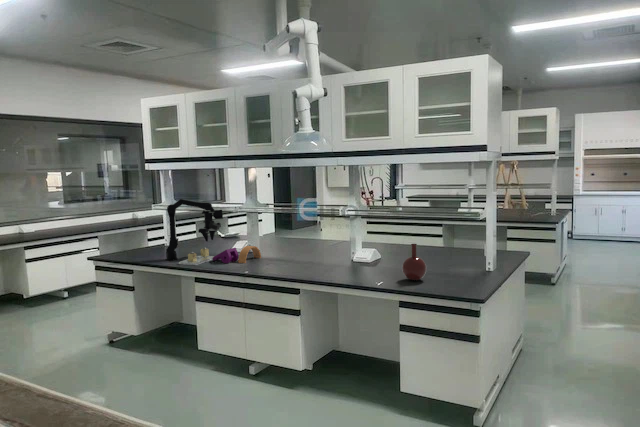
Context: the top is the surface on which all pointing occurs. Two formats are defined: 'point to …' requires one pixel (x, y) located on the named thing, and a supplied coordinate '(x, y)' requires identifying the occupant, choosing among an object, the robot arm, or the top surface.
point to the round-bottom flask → (414, 266)
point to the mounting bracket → (227, 256)
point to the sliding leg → (204, 252)
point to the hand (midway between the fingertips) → (209, 240)
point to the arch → (245, 251)
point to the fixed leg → (192, 256)
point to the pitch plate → (199, 260)
